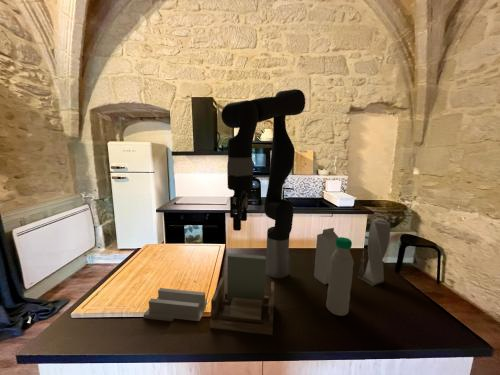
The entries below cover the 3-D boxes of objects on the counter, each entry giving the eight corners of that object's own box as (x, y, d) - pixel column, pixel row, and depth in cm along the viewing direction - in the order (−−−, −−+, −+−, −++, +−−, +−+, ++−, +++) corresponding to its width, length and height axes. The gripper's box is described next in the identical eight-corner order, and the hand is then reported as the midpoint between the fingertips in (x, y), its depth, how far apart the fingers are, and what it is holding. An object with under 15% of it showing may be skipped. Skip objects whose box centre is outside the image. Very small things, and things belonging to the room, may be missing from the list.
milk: (313, 277, 93) (317, 227, 89) (324, 273, 96) (328, 225, 92) (324, 284, 88) (328, 232, 84) (335, 281, 90) (339, 230, 87)
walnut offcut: (225, 313, 69) (225, 305, 69) (263, 317, 68) (263, 309, 67) (221, 324, 65) (221, 315, 65) (262, 329, 64) (262, 320, 63)
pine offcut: (233, 306, 69) (233, 297, 68) (261, 309, 68) (262, 300, 67) (230, 316, 64) (230, 307, 64) (260, 319, 63) (261, 310, 63)
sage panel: (228, 303, 74) (228, 253, 71) (264, 306, 73) (265, 256, 70) (227, 307, 72) (227, 256, 69) (263, 311, 71) (265, 259, 68)
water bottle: (347, 305, 76) (354, 236, 72) (349, 319, 70) (357, 245, 66) (326, 300, 79) (331, 233, 74) (326, 313, 72) (332, 241, 68)
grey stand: (160, 297, 78) (159, 285, 77) (209, 302, 76) (209, 289, 75) (143, 318, 68) (142, 304, 68) (199, 324, 66) (199, 310, 66)
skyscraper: (370, 272, 97) (377, 211, 92) (388, 282, 90) (397, 216, 85) (357, 277, 94) (364, 213, 89) (375, 287, 86) (383, 219, 82)
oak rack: (222, 299, 78) (222, 275, 76) (273, 304, 76) (274, 280, 74) (210, 331, 64) (210, 302, 62) (272, 338, 62) (273, 309, 60)
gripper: (234, 170, 72) (234, 217, 75) (220, 175, 59) (221, 233, 62) (256, 170, 71) (256, 218, 74) (247, 176, 57) (247, 235, 60)
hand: (240, 225), depth 68 cm, fingers open, 8 cm apart
